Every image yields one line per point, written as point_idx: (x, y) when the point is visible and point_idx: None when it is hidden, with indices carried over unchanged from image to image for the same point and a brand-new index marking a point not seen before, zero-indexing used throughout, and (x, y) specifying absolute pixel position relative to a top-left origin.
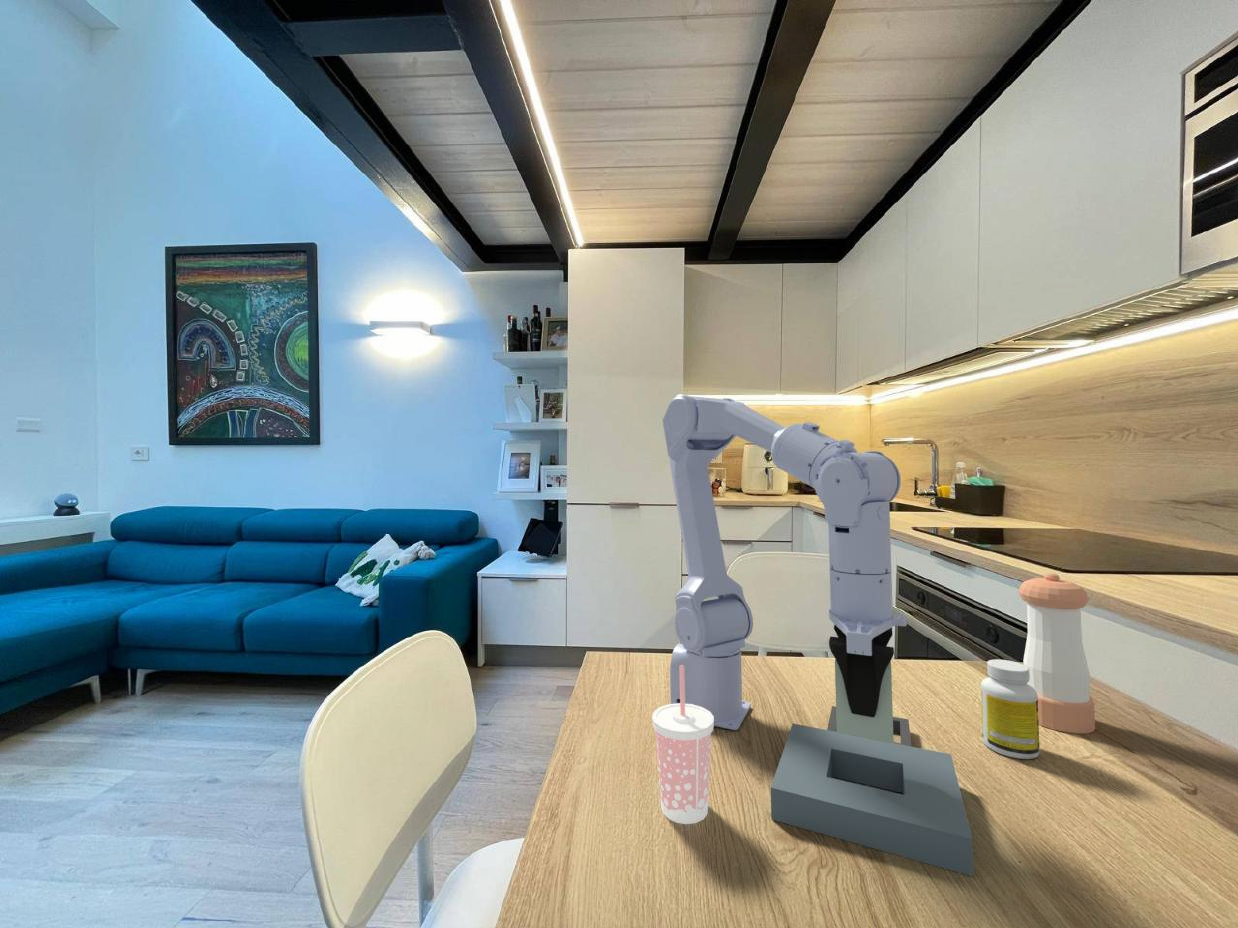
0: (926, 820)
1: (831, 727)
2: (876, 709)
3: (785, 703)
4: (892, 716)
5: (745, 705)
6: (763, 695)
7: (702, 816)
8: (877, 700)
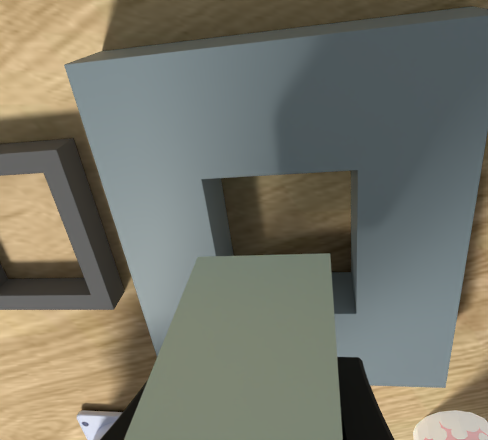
0: (458, 123)
1: (83, 303)
2: (364, 377)
3: (16, 365)
4: (331, 314)
5: (92, 419)
6: (17, 397)
7: (475, 418)
8: (378, 410)
